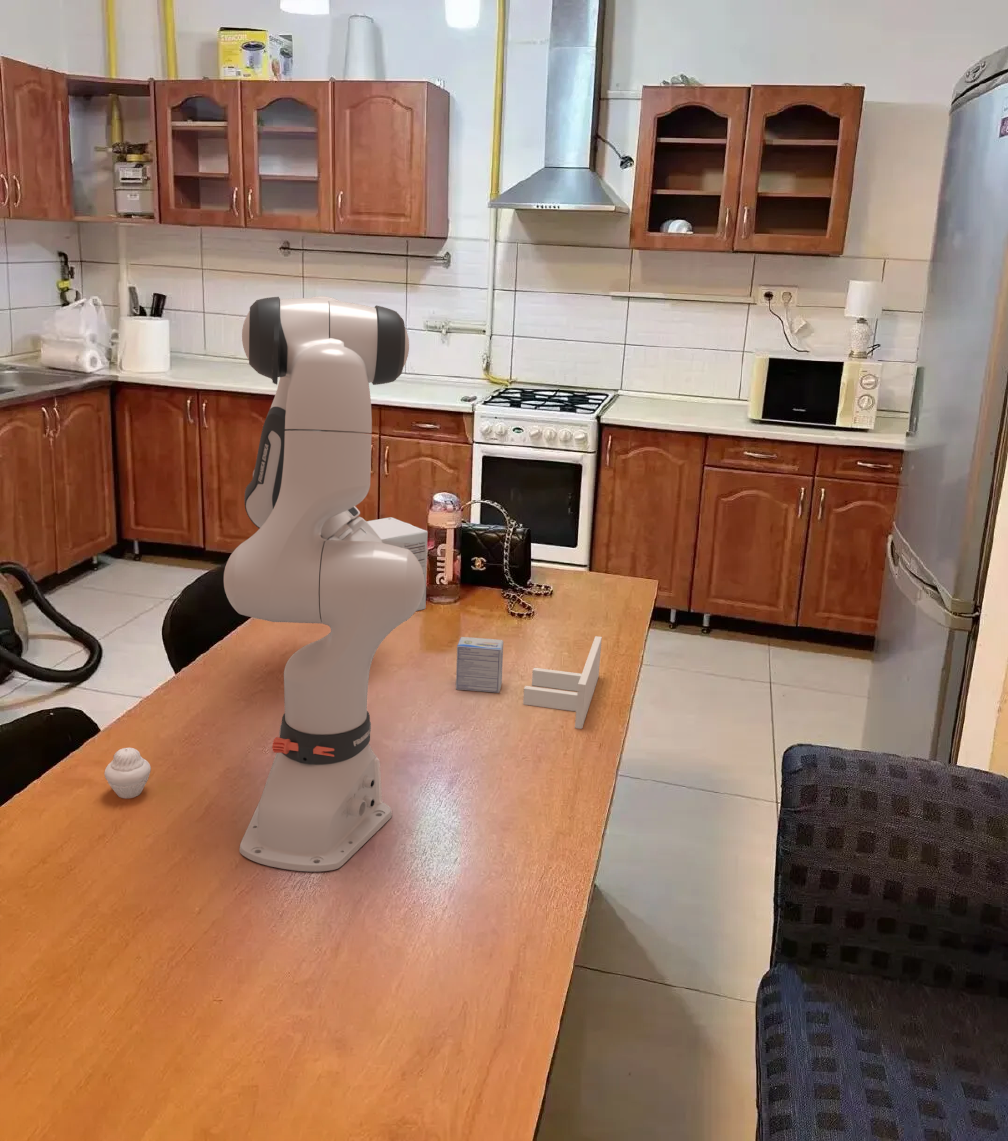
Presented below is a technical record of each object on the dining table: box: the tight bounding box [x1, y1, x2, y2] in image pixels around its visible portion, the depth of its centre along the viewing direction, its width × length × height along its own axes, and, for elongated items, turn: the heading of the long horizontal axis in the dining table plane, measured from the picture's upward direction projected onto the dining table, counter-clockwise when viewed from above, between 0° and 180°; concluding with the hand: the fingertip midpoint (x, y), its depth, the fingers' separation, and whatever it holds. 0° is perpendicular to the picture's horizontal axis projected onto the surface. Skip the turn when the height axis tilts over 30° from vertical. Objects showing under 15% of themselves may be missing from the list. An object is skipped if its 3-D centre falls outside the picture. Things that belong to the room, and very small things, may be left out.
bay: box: [522, 635, 603, 730], centre depth 184 cm, size 22×11×8 cm, turn 168°
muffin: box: [104, 747, 152, 800], centre depth 147 cm, size 6×6×7 cm
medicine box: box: [455, 636, 504, 694], centre depth 186 cm, size 8×4×9 cm, turn 84°
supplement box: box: [365, 516, 429, 612], centre depth 222 cm, size 13×13×18 cm
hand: (379, 586), depth 186 cm, fingers closed
